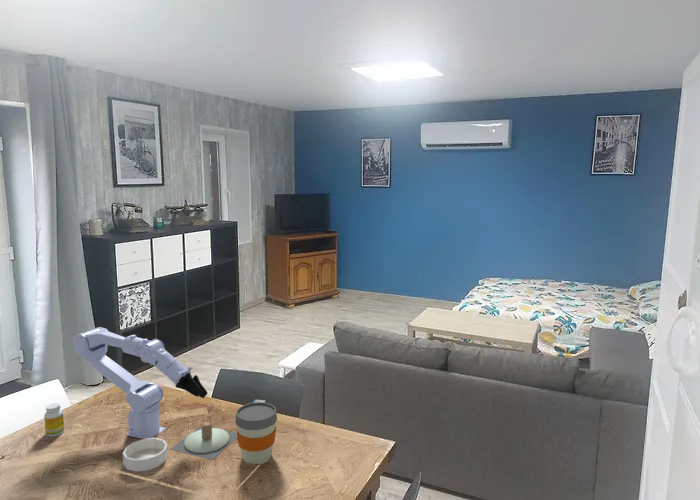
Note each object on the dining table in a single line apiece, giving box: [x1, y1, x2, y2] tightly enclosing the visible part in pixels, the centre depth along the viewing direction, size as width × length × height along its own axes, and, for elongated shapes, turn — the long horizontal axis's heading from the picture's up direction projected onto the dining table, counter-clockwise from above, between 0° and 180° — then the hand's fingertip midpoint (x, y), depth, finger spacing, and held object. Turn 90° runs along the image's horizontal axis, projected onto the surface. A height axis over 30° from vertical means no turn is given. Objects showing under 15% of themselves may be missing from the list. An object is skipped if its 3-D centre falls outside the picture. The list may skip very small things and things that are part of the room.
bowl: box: [122, 437, 169, 472], centre depth 142 cm, size 12×12×4 cm
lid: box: [184, 421, 229, 453], centre depth 153 cm, size 14×14×6 cm
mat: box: [170, 424, 238, 461], centre depth 153 cm, size 16×16×1 cm
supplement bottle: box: [43, 402, 65, 437], centre depth 157 cm, size 5×5×10 cm
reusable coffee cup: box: [234, 401, 278, 466], centre depth 145 cm, size 13×13×15 cm
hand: (202, 394), depth 150 cm, fingers open, 7 cm apart
